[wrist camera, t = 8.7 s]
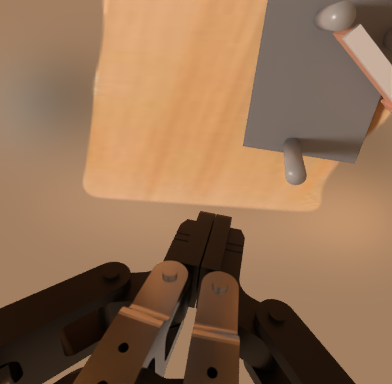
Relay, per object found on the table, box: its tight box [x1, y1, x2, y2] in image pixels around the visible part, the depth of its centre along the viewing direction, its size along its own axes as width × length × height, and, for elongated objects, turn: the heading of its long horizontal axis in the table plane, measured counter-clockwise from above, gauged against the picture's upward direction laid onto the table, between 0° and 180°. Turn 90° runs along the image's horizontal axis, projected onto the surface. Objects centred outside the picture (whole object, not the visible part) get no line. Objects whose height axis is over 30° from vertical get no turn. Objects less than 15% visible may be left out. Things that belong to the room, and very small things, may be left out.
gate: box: [333, 24, 392, 113], centre depth 28 cm, size 10×1×8 cm, turn 46°
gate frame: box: [243, 0, 392, 185], centre depth 30 cm, size 18×14×10 cm
